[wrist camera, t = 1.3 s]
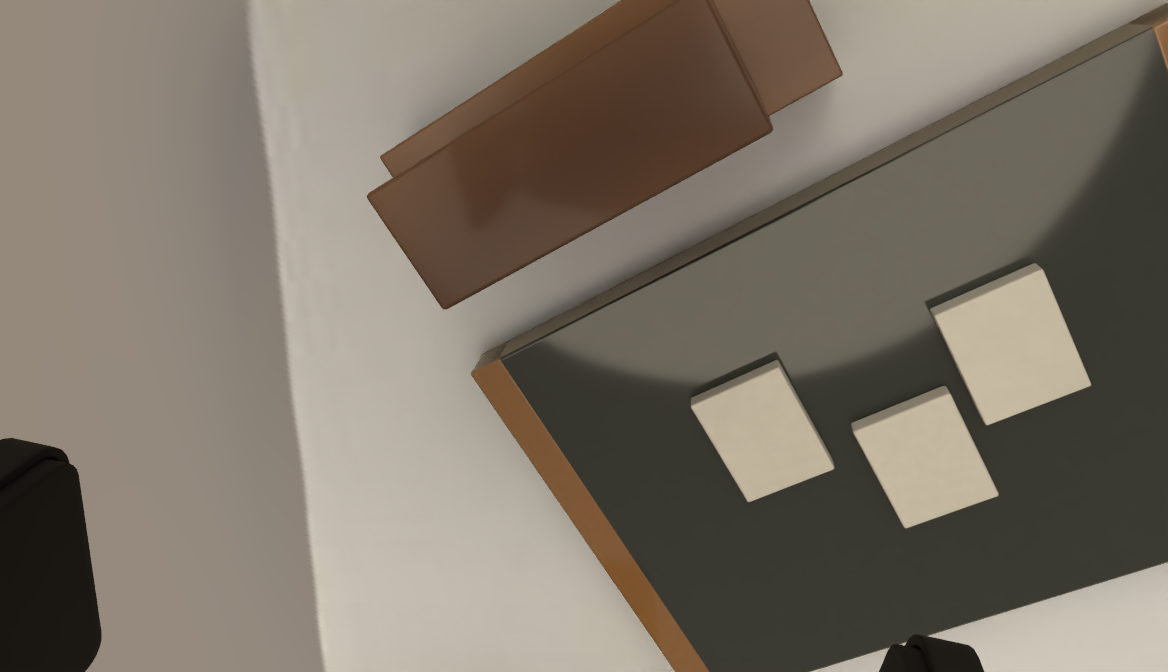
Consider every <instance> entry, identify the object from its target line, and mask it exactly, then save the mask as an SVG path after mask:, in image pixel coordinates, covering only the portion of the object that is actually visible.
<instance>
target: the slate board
mask: <svg viewBox="0 0 1168 672" xmlns="http://www.w3.org/2000/svg"><path fill="white" fill-rule="evenodd" d="M1033 263H1036V264H1037V265H1038V266H1039V267H1041V268H1042V269H1043V270H1044V273H1045V275H1046V278H1047V280H1048V282H1049V285H1050V287H1051V289H1052V292H1053V294H1054V297H1055V299H1056V301H1057V304H1058V306H1059V309H1060V311H1061V313H1062V316H1063V318H1064V320H1065V323H1066V325H1067V328H1068V330H1069V332H1070V335H1071V337H1072V339H1073V342H1074V344H1075V347H1076V349H1077V351H1078V354H1079V356H1080V359H1081V361H1082V363H1083V366H1084V368H1085V370H1086V373H1087V375H1088V378H1089V380H1090V382H1091V386H1089V387H1086V388H1084V389H1081V390H1079V391H1076V392H1073V393H1071V394H1068V395H1065V396H1063V397H1060V398H1058V399H1055V400H1052V401H1050V402H1047V403H1045V404H1042V405H1039V406H1037V407H1034V408H1031V409H1029V410H1026V411H1024V412H1021V413H1018V414H1016V415H1013V416H1011V417H1008V418H1005V419H1003V420H1000V421H997V422H995V423H992V424H990V425H985V423H984V422H983V420H982V418H981V417H980V415H979V413H978V411H977V409H976V406H975V404H974V402H973V400H972V398H971V396H970V394H969V392H968V390H967V387H966V385H965V383H964V381H963V379H962V377H961V375H960V373H959V371H958V369H957V366H956V364H955V362H954V360H953V358H952V356H951V354H950V352H949V350H948V347H947V345H946V343H945V341H944V339H943V337H942V335H941V333H940V331H939V329H938V326H937V324H936V322H935V320H934V318H933V316H932V314H931V312H930V309H931V308H933V307H935V306H937V305H940V304H942V303H944V302H946V301H949V300H951V299H953V298H956V297H958V296H960V295H962V294H965V293H967V292H969V291H971V290H974V289H976V288H978V287H981V286H983V285H985V284H987V283H990V282H992V281H994V280H997V279H999V278H1001V277H1003V276H1006V275H1008V274H1010V273H1013V272H1015V271H1017V270H1019V269H1022V268H1024V267H1026V266H1028V265H1031V264H1033ZM775 360H778V361H779V363H780V365H781V366H782V368H783V370H784V372H785V374H786V375H787V377H788V379H789V381H790V383H791V385H792V386H793V388H794V390H795V392H796V394H797V395H798V397H799V399H800V401H801V403H802V405H803V406H804V408H805V410H806V412H807V414H808V415H809V417H810V419H811V421H812V423H813V424H814V426H815V428H816V430H817V432H818V434H819V435H820V437H821V439H822V441H823V443H824V444H825V446H826V448H827V450H828V452H829V454H830V455H831V457H832V459H833V463H834V469H833V470H831V471H828V472H825V473H823V474H820V475H818V476H815V477H813V478H810V479H807V480H805V481H802V482H800V483H797V484H795V485H792V486H789V487H787V488H784V489H782V490H779V491H777V492H774V493H771V494H769V495H766V496H764V497H761V498H759V499H756V500H753V501H751V502H748V501H747V500H746V498H745V496H744V495H743V493H742V491H741V490H740V488H739V486H738V485H737V483H736V481H735V480H734V478H733V476H732V475H731V473H730V471H729V470H728V468H727V466H726V465H725V463H724V461H723V460H722V458H721V457H720V455H719V453H718V452H717V450H716V448H715V447H714V445H713V443H712V442H711V440H710V438H709V437H708V435H707V433H706V432H705V430H704V428H703V427H702V425H701V423H700V422H699V420H698V418H697V417H696V415H695V413H694V412H693V410H692V408H691V398H692V397H694V396H697V395H699V394H701V393H703V392H706V391H708V390H710V389H712V388H715V387H717V386H719V385H721V384H724V383H726V382H728V381H730V380H733V379H735V378H737V377H739V376H742V375H744V374H746V373H748V372H750V371H753V370H755V369H757V368H759V367H762V366H764V365H766V364H768V363H771V362H773V361H775ZM471 375H472V377H473V378H474V380H475V381H476V383H477V384H478V385H479V387H480V388H481V390H482V391H483V393H484V394H485V396H486V397H487V398H488V400H489V401H490V403H491V404H492V406H493V407H494V409H495V410H496V412H497V413H498V414H499V416H500V417H501V419H502V420H503V422H504V423H505V425H506V426H507V428H508V429H509V430H510V432H511V433H512V435H513V436H514V438H515V439H516V441H517V442H518V444H519V445H520V446H521V448H522V449H523V451H524V452H525V454H526V455H527V457H528V458H529V460H530V461H531V462H532V464H533V465H534V467H535V468H536V470H537V471H538V473H539V474H540V475H541V477H542V478H543V480H544V481H545V483H546V484H547V486H548V487H549V489H550V490H551V491H552V493H553V494H554V496H555V497H556V499H557V500H558V502H559V503H560V505H561V506H562V507H563V509H564V510H565V512H566V513H567V515H568V516H569V518H570V519H571V521H572V522H573V523H574V525H575V526H576V528H577V529H578V531H579V532H580V534H581V535H582V537H583V538H584V539H585V541H586V542H587V544H588V545H589V547H590V548H591V550H592V551H593V553H594V554H595V555H596V557H597V558H598V560H599V561H600V563H601V564H602V566H603V567H604V568H605V570H606V571H607V573H608V574H609V576H610V577H611V579H612V580H613V582H614V583H615V584H616V586H617V587H618V589H619V590H620V592H621V593H622V595H623V596H624V598H625V599H626V600H627V602H628V603H629V605H630V606H631V608H632V609H633V611H634V612H635V614H636V615H637V616H638V618H639V619H640V621H641V622H642V624H643V625H644V627H645V628H646V630H647V631H648V632H649V634H650V635H651V637H652V638H653V640H654V641H655V643H656V644H657V645H658V647H659V648H660V650H661V651H662V653H663V654H664V656H665V657H666V659H667V660H668V661H669V663H670V664H671V666H672V667H673V669H674V670H675V672H811V671H814V670H817V669H821V668H824V667H827V666H830V665H834V664H837V663H840V662H844V661H847V660H850V659H853V658H857V657H860V656H863V655H866V654H870V653H873V652H876V651H880V650H883V649H886V648H889V647H891V646H892V645H893V644H902V643H906V642H907V641H908V639H909V638H910V637H911V636H913V635H914V634H916V635H923V636H929V635H932V634H935V633H938V632H942V631H945V630H948V629H951V628H955V627H958V626H961V625H964V624H968V623H971V622H974V621H978V620H981V619H984V618H987V617H991V616H994V615H997V614H1000V613H1004V612H1007V611H1010V610H1013V609H1017V608H1020V607H1023V606H1027V605H1030V604H1033V603H1036V602H1040V601H1043V600H1046V599H1049V598H1053V597H1056V596H1059V595H1063V594H1066V593H1069V592H1072V591H1076V590H1079V589H1082V588H1085V587H1089V586H1092V585H1095V584H1098V583H1102V582H1105V581H1108V580H1112V579H1115V578H1118V577H1121V576H1125V575H1128V574H1131V573H1134V572H1138V571H1141V570H1144V569H1147V568H1151V567H1154V566H1157V565H1161V564H1164V563H1167V562H1168V3H1167V4H1165V5H1163V6H1161V7H1159V8H1157V9H1155V10H1153V11H1151V12H1149V13H1147V14H1145V15H1143V16H1141V17H1139V18H1137V19H1135V20H1133V21H1131V22H1130V23H1128V24H1126V25H1124V26H1122V27H1120V28H1118V29H1116V30H1114V31H1112V32H1110V33H1108V34H1106V35H1104V36H1102V37H1100V38H1098V39H1096V40H1095V41H1093V42H1091V43H1089V44H1087V45H1085V46H1083V47H1081V48H1079V49H1077V50H1075V51H1073V52H1071V53H1069V54H1067V55H1065V56H1063V57H1061V58H1059V59H1058V60H1056V61H1054V62H1052V63H1050V64H1048V65H1046V66H1044V67H1042V68H1040V69H1038V70H1036V71H1034V72H1032V73H1030V74H1028V75H1026V76H1024V77H1022V78H1021V79H1019V80H1017V81H1015V82H1013V83H1011V84H1009V85H1007V86H1005V87H1003V88H1001V89H999V90H997V91H995V92H993V93H991V94H989V95H987V96H985V97H984V98H982V99H980V100H978V101H976V102H974V103H972V104H970V105H968V106H966V107H964V108H962V109H960V110H958V111H956V112H954V113H952V114H950V115H948V116H946V117H945V118H943V119H941V120H939V121H937V122H935V123H933V124H931V125H929V126H927V127H925V128H923V129H921V130H919V131H917V132H915V133H913V134H911V135H909V136H908V137H906V138H904V139H902V140H900V141H898V142H896V143H894V144H892V145H890V146H888V147H886V148H884V149H882V150H880V151H878V152H876V153H874V154H872V155H871V156H869V157H867V158H865V159H863V160H861V161H859V162H857V163H855V164H853V165H851V166H849V167H847V168H845V169H843V170H841V171H839V172H837V173H835V174H834V175H832V176H830V177H828V178H826V179H824V180H822V181H820V182H818V183H816V184H814V185H812V186H810V187H808V188H806V189H804V190H802V191H800V192H798V193H797V194H795V195H793V196H791V197H789V198H787V199H785V200H783V201H781V202H779V203H777V204H775V205H773V206H771V207H769V208H767V209H765V210H763V211H761V212H760V213H758V214H756V215H754V216H752V217H750V218H748V219H746V220H744V221H742V222H740V223H738V224H736V225H734V226H732V227H730V228H728V229H726V230H724V231H723V232H721V233H719V234H717V235H715V236H713V237H711V238H709V239H707V240H705V241H703V242H701V243H699V244H697V245H695V246H693V247H691V248H689V249H687V250H686V251H684V252H682V253H680V254H678V255H676V256H674V257H672V258H670V259H668V260H666V261H664V262H662V263H660V264H658V265H656V266H654V267H652V268H650V269H649V270H647V271H645V272H643V273H641V274H639V275H637V276H635V277H633V278H631V279H629V280H627V281H625V282H623V283H621V284H619V285H617V286H615V287H613V288H612V289H610V290H608V291H606V292H604V293H602V294H600V295H598V296H596V297H594V298H592V299H590V300H588V301H586V302H584V303H582V304H580V305H578V306H576V307H574V308H573V309H571V310H569V311H567V312H565V313H563V314H561V315H559V316H557V317H555V318H553V319H551V320H549V321H547V322H545V323H543V324H541V325H539V326H537V327H536V328H534V329H532V330H530V331H528V332H526V333H524V334H522V335H520V336H518V337H516V338H514V339H512V340H510V341H508V342H506V343H504V344H502V345H500V346H498V347H496V348H494V349H492V350H490V351H488V352H486V353H484V354H482V356H481V358H480V359H479V361H478V362H477V364H476V366H475V367H474V369H473V371H472V372H471ZM941 386H946V387H947V389H948V391H949V392H950V394H951V396H952V398H953V400H954V402H955V404H956V406H957V409H958V411H959V413H960V415H961V417H962V419H963V421H964V423H965V425H966V427H967V429H968V431H969V433H970V435H971V437H972V440H973V442H974V444H975V446H976V448H977V450H978V452H979V454H980V456H981V458H982V460H983V462H984V464H985V466H986V468H987V471H988V473H989V475H990V477H991V479H992V481H993V483H994V485H995V487H996V489H997V491H998V496H997V497H994V498H991V499H988V500H985V501H982V502H980V503H977V504H974V505H971V506H968V507H965V508H963V509H960V510H957V511H954V512H951V513H948V514H946V515H943V516H940V517H937V518H934V519H931V520H929V521H926V522H923V523H920V524H917V525H914V526H912V527H909V528H904V527H903V525H902V523H901V521H900V519H899V517H898V516H897V514H896V512H895V510H894V508H893V506H892V504H891V502H890V501H889V499H888V497H887V495H886V493H885V491H884V489H883V488H882V486H881V484H880V482H879V480H878V478H877V476H876V474H875V473H874V471H873V469H872V467H871V465H870V463H869V461H868V460H867V458H866V456H865V454H864V452H863V450H862V448H861V446H860V445H859V443H858V441H857V439H856V437H855V435H854V433H853V430H852V427H851V423H852V422H855V421H857V420H860V419H862V418H865V417H867V416H870V415H872V414H875V413H877V412H880V411H882V410H885V409H887V408H890V407H892V406H894V405H897V404H899V403H902V402H904V401H907V400H909V399H912V398H914V397H917V396H919V395H922V394H924V393H927V392H929V391H931V390H934V389H936V388H939V387H941Z"/></svg>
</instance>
